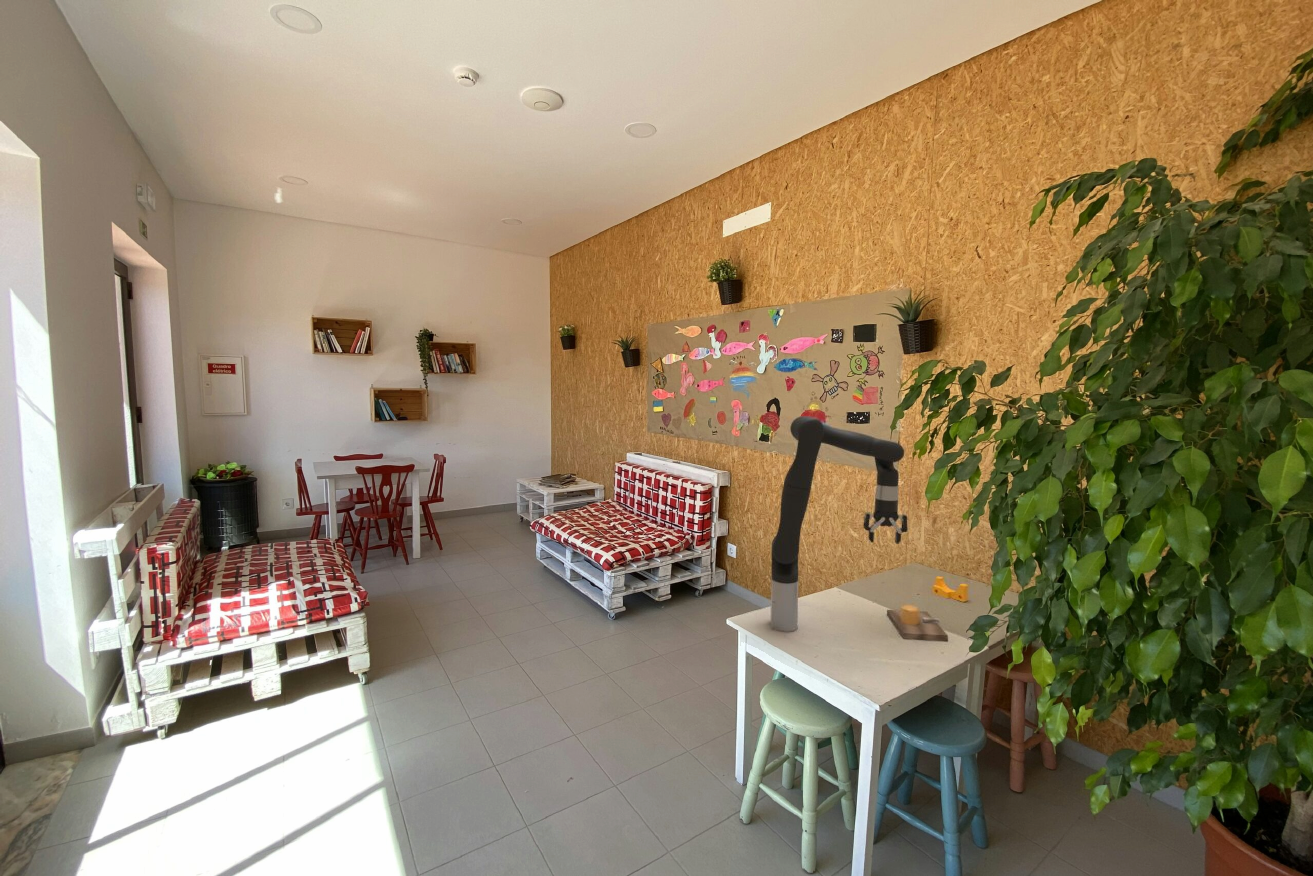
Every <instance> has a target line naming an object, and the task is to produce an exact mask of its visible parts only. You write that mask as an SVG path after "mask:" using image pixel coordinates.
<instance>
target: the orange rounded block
mask: <svg viewBox="0 0 1313 876" xmlns="http://www.w3.org/2000/svg"><path fill="white" fill-rule="evenodd" d="M900 610H901V621H902V622H903V623H906V624H909V625H916V624H918V623H919V611H920V609H919V607H917V606H915V605H913V604H912V605H911V604H903V605H902V606H901V607H900Z"/></svg>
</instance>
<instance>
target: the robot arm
mask: <svg viewBox="0 0 1313 876" xmlns="http://www.w3.org/2000/svg"><path fill="white" fill-rule="evenodd" d="M790 434H791V436H792V437H793V438H794V439H795V440H797V447H796V454H795V457H794V459H793V461H792V464H791V465H790V467H789V468H788V471H787V473H786V475H785V478H784V480H783V486H782V491H781V499H780V515H779V517H780V518H779V523H778V524H779V525H778V529H777V532H776V534H775V536H774V538H773V539H772V542H771V576H770V577H771V592H770V594H771V595H770V627H771V630H776V631H779V632H783V633H789V632H794V631H797V629H798V626H799V625H798V624H799V622H798V621H799V616H798V615H799V553H800V540H801V530H802V525H803V522H804V518H805V515H806V512H807V508H808V504H809V500H810V496H811V491H812V484H813V479H814V475H815V468H816V464H817V458H818V455H819V452H820V448H821V445H822V444H824V445H828V446H832V447H836V448H838V449H842V450H845V451H847V452H850V453H854V454H858V455H862V456H866V457H873V458H874V462H875V467H876V468H875V469H876V472H877V474H876V487H875V494H874V510H873V511H874V512H873V513H871V512H870V513H869V512H867V511H866V512H865V513H864V517H863V525H862V526H863V529H864V530H865V531H868V537H867V538H868V540H869V542H870V543H874V539H875V532H874V531H875V530H876V529H878V528H879V527H893V528H894V530H895V535H894V536H895V537H894V543H895V544H896V545H899V544H900V543H901V541H902V533H903V534H904V533H907V532H908V515H907V514H904V513H902V514H898V513H899V512H898V511H899V510H898V509H899V507H898V506H899V494H900V493H899V492H900V491H899V477H900V475H899V471H898V469H896V468H895V465H894V463H898V462H899V461H901V460H902V459H903V458H904V456H905V449H904V447H903V445H901V444H900V443H898V442H896V441H891V440H887V439H881V438H877V437H874V436H871V435H867V434H863V433H859V432H855V431H851V430H847V429H840V428H836V427H832V426H829V425H826V424H824V423H823V422H822V421H821V420H820V418H816V417H814V416H813V417H812V416H809V415H801V416H798V417H796V418H795V419H794V420H793V421H792V422H791V425H790ZM872 518H874V521H873V522H872V523H871V525H870V520H872ZM897 520H899V521H901V523H900V524H901V527H899V526H898V524H897Z"/></svg>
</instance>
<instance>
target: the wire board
mask: <svg viewBox="0 0 1313 876" xmlns="http://www.w3.org/2000/svg"><path fill="white" fill-rule="evenodd" d="M886 616H887V617H888V618H889V620H890V622H891V623H892V625H893V626H894V627H895V629H896V630H897V632H898V633H899V635H900V636H901V638H902V639H904V640H918V641H939V642H948V641H949V635H948V634H947V632H945V630H944V629H943V628H942V627H941V626H940V625H939V624H940V619H939V618H936V617H932V616H931V615H930V613H928V611H920V610H919V623H918V624H916V625H909V624H906V623H903V622H902V621H901V609H898V610H897V609H886Z"/></svg>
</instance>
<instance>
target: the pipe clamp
mask: <svg viewBox="0 0 1313 876" xmlns="http://www.w3.org/2000/svg"><path fill="white" fill-rule="evenodd" d="M934 581H935V583H934V585H932V594H934V595H936V596H940V597H942V598H944V599H945V598H946V599H953V600H956V601H960V602H962V603H964V602H965V603H966V602H967V601H968V598H969V597H968V594H969V585H968V584H966V583H961V584H959V586H958V588H957V590H953V589H951V588H949V587H948V586H947V584H946V582H945V578H944V577H943V576H936V577H935V580H934Z"/></svg>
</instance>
